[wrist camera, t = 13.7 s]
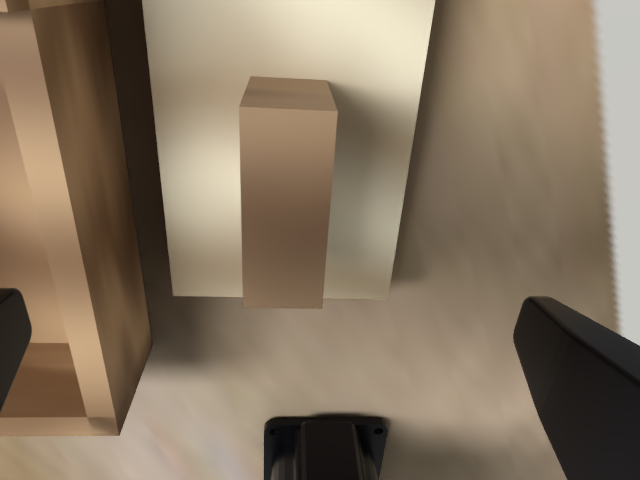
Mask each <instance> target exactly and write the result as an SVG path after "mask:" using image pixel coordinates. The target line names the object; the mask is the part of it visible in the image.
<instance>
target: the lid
mask: <svg viewBox="0 0 640 480" xmlns="http://www.w3.org/2000/svg"><path fill="white" fill-rule="evenodd" d="M142 6H143V15H144V25H145V34H146V44H147V53H148V63H149V72H150V82H151V91H152V101H153V110H154V120H155V129H156V139H157V148H158V158H159V167H160V177H161V186H162V196H163V205H164V215H165V224H166V234H167V243H168V253H169V262H170V272H171V281H172V291H173V296H205V297H243V308H311V309H322V305H323V298H329V299H388V295H389V288H390V282H391V276H392V270H393V263H394V257H395V251H396V244H397V238H398V232H399V226H400V219H401V213H402V207H403V200H404V194H405V188H406V182H407V175H408V169H409V163H410V157H411V150H412V144H413V138H414V131H415V125H416V119H417V113H418V106H419V100H420V94H421V87H422V81H423V75H424V69H425V62H426V56H427V50H428V43H429V37H430V31H431V25H432V18H433V12H434V6H435V0H142Z"/></svg>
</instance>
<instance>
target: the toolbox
mask: <svg viewBox="0 0 640 480" xmlns="http://www.w3.org/2000/svg"><path fill="white" fill-rule="evenodd" d="M0 288H16V289H18V290H19V291H20V292H21V293H22V295H23V298H24V301H25V305H26V308H27V312H28V315H29V318H30V322H31V326H32V335H31V339H30V342H29V345H28V347H27V350H26V352H25V354H24V357H23V359H22V362H21V364H20V367H19V369H18V372H17V374H16V377H15V379H14V382H13V384H12V387H11V389H10V391H9V394H8V396H7V399H6V401H5V404H4V406H3V408H2V411H1V413H0V436H119V435H120V432H121V430H122V427H123V424H124V421H125V419H126V416H127V413H128V411H129V408H130V405H131V402H132V400H133V397H134V394H135V392H136V389H137V386H138V383H139V381H140V378H141V375H142V373H143V370H144V367H145V364H146V362H147V359H148V356H149V354H150V351H151V348H152V340H151V332H150V325H149V318H148V311H147V304H146V297H145V290H144V283H143V276H142V269H141V262H140V254H139V247H138V240H137V233H136V226H135V219H134V212H133V205H132V198H131V191H130V184H129V177H128V169H127V162H126V155H125V148H124V141H123V134H122V127H121V120H120V113H119V106H118V99H117V91H116V84H115V77H114V70H113V63H112V56H111V49H110V42H109V35H108V28H107V21H106V14H105V6H104V0H0Z"/></svg>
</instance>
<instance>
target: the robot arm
mask: <svg viewBox="0 0 640 480" xmlns="http://www.w3.org/2000/svg"><path fill="white" fill-rule="evenodd" d="M31 335H32V326H31V322H30V318H29V315H28V312H27V308H26V305H25V301H24V298H23V295H22V293H21V292H20V291H19V290H18V289H16V288H0V413H1V411H2V408H3V406H4V404H5V401H6V399H7V396H8V394H9V391H10V389H11V387H12V384H13V382H14V379H15V377H16V374H17V372H18V369H19V367H20V364H21V362H22V359H23V357H24V354H25V352H26V350H27V347H28V345H29V342H30V339H31ZM513 339H514V344H515V348H516V351H517V354H518V357H519V360H520V363H521V366H522V369H523V372H524V375H525V378H526V381H527V384H528V387H529V390H530V393H531V396H532V399H533V402H534V405H535V407H536V410H537V413H538V415H539V418H540V420H541V422H542V425H543V427H544V429H545V432H546V434H547V436H548V438H549V440H550V443H551V445H552V447H553V449H554V451H555V454H556V456H557V458H558V460H559V462H560V464H561V467H562V469H563V471H564V473H565V475H566V478H567V480H640V346H639V345H637V344H635V343H633V342H631V341H630V340H628V339H626V338H624V337H622V336H621V335H619V334H617V333H615V332H613V331H612V330H610V329H608V328H606V327H604V326H602V325H601V324H599V323H597V322H595V321H593V320H591V319H590V318H588V317H586V316H584V315H582V314H580V313H579V312H577V311H575V310H573V309H571V308H569V307H568V306H566V305H564V304H562V303H560V302H558V301H557V300H555V299H553V298H551V297H540V296H530V297H528V298H526V299H525V300H524V302H523V304H522V307H521V310H520V313H519V317H518V320H517V323H516V326H515V329H514V334H513ZM387 432H388V430H387V425H386V422H385V421H384V420H382V419H271V420H269V421H267V422H266V423H265V426H264V480H379V475H380V469H381V464H382V459H383V453H384V448H385V443H386V437H387Z"/></svg>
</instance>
